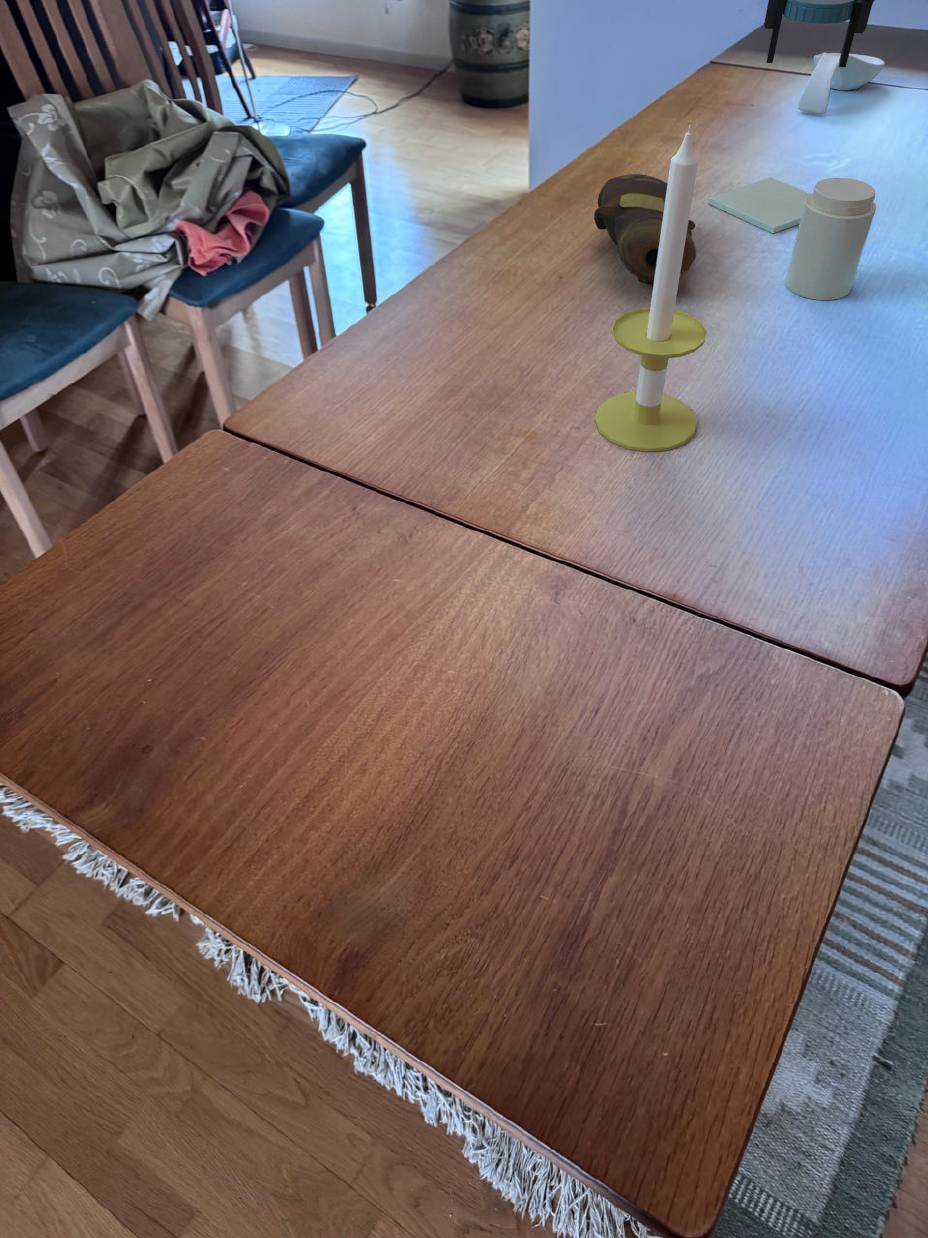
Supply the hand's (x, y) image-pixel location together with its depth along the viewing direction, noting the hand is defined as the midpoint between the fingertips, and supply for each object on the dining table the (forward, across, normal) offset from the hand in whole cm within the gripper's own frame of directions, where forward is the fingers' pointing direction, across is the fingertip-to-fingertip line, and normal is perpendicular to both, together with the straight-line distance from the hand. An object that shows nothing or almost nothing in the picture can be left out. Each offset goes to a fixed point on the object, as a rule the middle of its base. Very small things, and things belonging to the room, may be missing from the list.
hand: (806, 61), depth 107 cm
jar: (+18, -6, +21) cm, 28 cm away
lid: (-6, 0, 0) cm, 6 cm away
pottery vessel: (+18, +15, +19) cm, 30 cm away
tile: (+18, 0, -1) cm, 18 cm away
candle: (+18, +9, +54) cm, 57 cm away
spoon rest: (+18, -7, -51) cm, 54 cm away
